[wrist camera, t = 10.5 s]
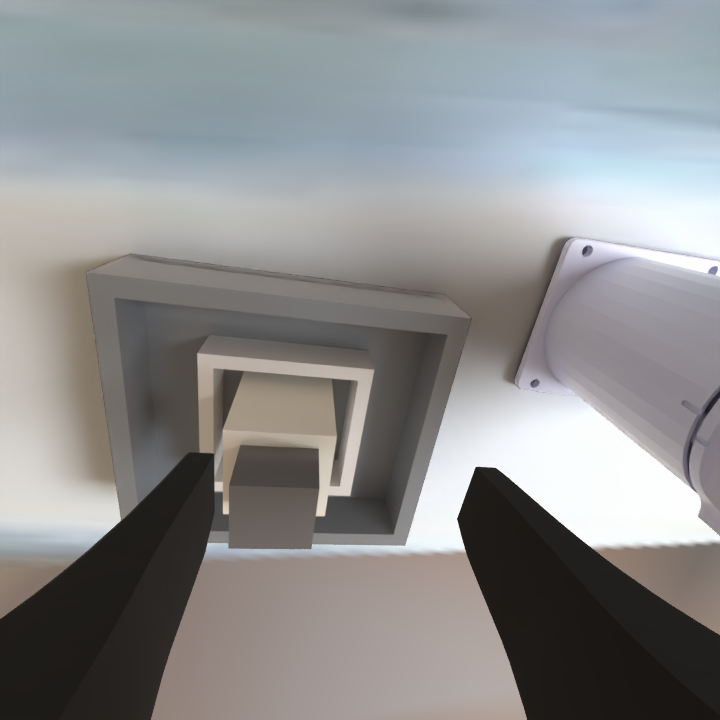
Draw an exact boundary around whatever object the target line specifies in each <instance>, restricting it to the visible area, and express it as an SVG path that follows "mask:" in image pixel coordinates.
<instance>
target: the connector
mask: <svg viewBox="0 0 720 720" xmlns="http://www.w3.org/2000/svg"><path fill="white" fill-rule="evenodd" d="M336 439H337V432H336V421H335V409H334V398H333V387H332V378H321V377H309V376H298V375H286V374H275V373H263V372H252V371H244V373H243V376H242V378H241V381H240V384H239V387H238V389H237V392H236V395H235V398H234V400H233V403H232V406H231V409H230V411H229V414H228V417H227V420H226V422H225V425H224V428H223V514H229V548H242V549H311V547H312V540H313V532H314V525H315V518H316V516H325V512H326V506H327V499H328V492H329V486H330V479H331V472H332V466H333V459H334V452H335V446H336Z"/></svg>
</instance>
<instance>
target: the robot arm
mask: <svg viewBox="0 0 720 720" xmlns="http://www.w3.org/2000/svg"><path fill="white" fill-rule="evenodd" d="M585 246H587V251H586V253H585V254H583V255H582V250H583V248H584V247H585ZM709 269H710V271H709V272H708V270H709ZM534 379H536V381H535V382H534V383H533V384H530V383H531V382H532V381H533V380H534ZM515 385H516V386H517V387H518V388H519V389H520V390H525V391H536V392H547V393H559V394H570V395H578V396H579V397H580V398H582V399H583V400H584V401H585V402H587V403H588V404H589V405H590V406H591V407H593V408H594V409H595V410H596V411H598V412H599V413H600V414H601V415H602V416H604V417H605V418H606V419H607V420H609V421H610V422H611V423H612V424H613V425H615V426H616V427H617V428H618V429H620V430H621V431H622V432H623V433H624V434H626V435H627V436H628V437H629V438H631V439H632V440H633V441H634V442H635V443H637V444H638V445H639V446H640V447H641V448H643V449H644V450H645V451H646V452H648V453H649V454H650V455H651V456H652V457H654V458H655V459H656V460H657V461H659V462H660V463H661V464H662V465H663V466H665V467H666V468H667V469H668V470H670V471H671V472H672V473H673V474H674V475H676V476H677V477H678V478H679V479H681V480H682V481H683V482H684V483H685V484H687V485H688V486H689V487H690V488H692V489H693V490H694V491H695V492H696V493H698V495H699V496H700V498H701V508H700V511H699V514H698V517H699V518H700V519H702V520H703V521H704V522H705V523H706V524H707V525H708V526H709V527H711V528H712V529H713V530H714V531H715V532H716V533H717V534H719V535H720V261H716V260H710V259H704V258H698V257H692V256H686V255H680V254H674V253H668V252H662V251H656V250H650V249H644V248H638V247H632V246H626V245H620V244H614V243H608V242H602V241H596V240H590V239H584V238H578V237H574V238H571V239H569V240H568V241H567V242H566V243H565V245H564V247H563V250H562V252H561V255H560V258H559V261H558V263H557V266H556V269H555V271H554V274H553V277H552V280H551V282H550V285H549V288H548V290H547V293H546V296H545V299H544V301H543V304H542V307H541V309H540V312H539V315H538V318H537V320H536V323H535V326H534V328H533V331H532V334H531V337H530V339H529V342H528V345H527V347H526V350H525V353H524V356H523V358H522V361H521V364H520V366H519V369H518V372H517V375H516V377H515ZM214 513H215V479H214V453H197V452H189V453H188V454H186V455H185V456H184V457H183V458H182V459H181V460H180V461H179V463H178V464H177V465H176V466H175V467H174V468H173V469H172V470H171V471H170V472H169V473H168V474H167V476H166V477H165V478H164V479H163V480H162V481H161V482H160V483H159V484H158V485H157V486H156V487H155V488H154V489H153V490H152V491H151V492H150V493H149V494H148V495H147V496H146V497H145V498H144V499H143V500H142V501H141V502H140V503H139V504H138V505H137V506H136V507H135V508H134V509H133V510H132V511H131V512H130V513H129V514H128V515H127V516H126V517H125V518H124V519H123V520H121V521H120V522H119V523H118V524H117V525H116V526H115V527H114V528H113V529H111V530H110V531H109V532H108V533H107V534H106V535H105V536H104V537H103V538H101V539H100V540H99V541H98V542H97V543H96V544H95V545H94V546H93V547H91V548H90V549H89V550H88V551H87V552H86V553H84V554H83V555H82V556H81V557H80V558H79V559H77V560H76V561H75V562H74V563H73V564H71V565H70V566H69V567H68V568H66V569H65V570H64V571H63V572H62V573H60V574H59V575H58V576H57V577H55V578H54V579H53V580H52V581H50V582H49V583H48V584H47V585H45V586H44V587H43V588H42V589H40V590H39V591H38V592H36V593H35V594H34V595H32V596H31V597H30V598H28V599H27V600H26V601H24V602H23V603H22V604H20V605H19V606H17V607H16V608H15V609H13V610H12V611H11V612H9V613H8V614H7V615H5V616H4V617H3V618H1V619H0V720H151V717H152V713H153V709H154V705H155V701H156V698H157V694H158V690H159V686H160V683H161V679H162V676H163V672H164V669H165V666H166V663H167V659H168V656H169V653H170V650H171V647H172V644H173V641H174V639H175V636H176V633H177V630H178V628H179V624H180V621H181V619H182V616H183V613H184V611H185V607H186V605H187V602H188V599H189V597H190V594H191V591H192V588H193V585H194V583H195V580H196V577H197V574H198V571H199V568H200V565H201V563H202V560H203V557H204V554H205V551H206V547H207V542H208V538H209V534H210V530H211V526H212V521H213V517H214ZM457 520H458V524H459V528H460V532H461V536H462V539H463V543H464V546H465V550H466V553H467V556H468V559H469V561H470V564H471V566H472V569H473V571H474V574H475V576H476V579H477V581H478V584H479V586H480V589H481V591H482V594H483V596H484V599H485V601H486V603H487V606H488V608H489V611H490V613H491V616H492V618H493V620H494V623H495V625H496V628H497V630H498V633H499V635H500V637H501V640H502V642H503V645H504V648H505V651H506V653H507V656H508V659H509V661H510V665H511V668H512V671H513V674H514V678H515V680H516V684H517V687H518V690H519V694H520V697H521V700H522V703H523V706H524V710H525V713H526V717H527V720H720V635H719V634H717V633H715V632H714V631H712V630H710V629H709V628H707V627H705V626H704V625H702V624H701V623H699V622H697V621H695V620H694V619H693V618H691V617H689V616H688V615H686V614H685V613H683V612H681V611H680V610H678V609H676V608H675V607H673V606H672V605H670V604H669V603H667V602H666V601H664V600H663V599H661V598H660V597H658V596H657V595H655V594H654V593H652V592H651V591H649V590H648V589H647V588H645V587H644V586H642V585H641V584H639V583H638V582H637V581H635V580H634V579H632V578H631V577H629V576H628V575H627V574H625V573H624V572H622V571H621V570H619V569H618V568H617V567H616V566H614V565H613V564H611V563H610V562H609V561H607V560H606V559H605V558H603V557H602V556H601V555H600V554H598V553H597V552H596V551H595V550H593V549H592V548H591V547H590V546H588V545H587V544H586V543H584V542H583V541H582V540H581V539H579V538H578V537H577V536H576V535H574V534H573V533H572V532H571V531H570V530H568V529H567V528H566V527H565V526H564V525H562V524H561V523H560V522H559V521H558V520H556V519H555V518H554V517H553V516H552V515H551V514H549V513H548V512H547V511H546V510H545V509H544V508H542V507H541V506H540V505H539V504H538V503H537V502H536V501H534V500H533V499H532V498H531V497H530V496H529V495H527V494H526V493H525V492H524V491H523V490H522V489H521V488H519V487H518V486H517V485H516V484H515V483H514V482H512V481H511V480H510V479H509V478H508V477H506V476H505V475H504V474H503V473H501V472H500V471H499V470H498V469H496V468H488V467H476V468H475V471H474V474H473V476H472V479H471V482H470V485H469V488H468V490H467V493H466V496H465V499H464V501H463V504H462V507H461V510H460V513H459V515H458V518H457Z"/></svg>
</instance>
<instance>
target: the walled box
mask: <svg viewBox="0 0 720 720" xmlns="http://www.w3.org/2000/svg"><path fill="white" fill-rule="evenodd" d="M86 278H87V285H88V292H89V299H90V306H91V313H92V320H93V327H94V334H95V341H96V348H97V355H98V362H99V369H100V376H101V383H102V390H103V397H104V404H105V411H106V417H107V424H108V431H109V438H110V445H111V452H112V459H113V466H114V473H115V480H116V487H117V494H118V501H119V508H120V515H121V520H123V519H124V518H125V517H126V516H127V515H128V514H129V513H130V512H131V511H132V510H133V509H134V508H135V507H136V506H137V505H138V504H139V503H140V502H141V501H142V500H143V499H144V498H145V497H146V496H147V495H148V494H149V493H150V492H151V491H152V490H153V489H154V488H155V487H156V486H157V485H158V484H159V483H160V482H161V481H162V480H163V479H164V478H165V477H166V476H167V474H168V473H169V472H170V471H171V470H172V469H173V468H174V467H175V466H176V465H177V464H178V463H179V461H180V460H181V459H182V458H183V457H184V456H185V455H186V454H188V453H189V452H197V453H214V479H215V513H214V517H213V521H212V526H211V530H210V534H209V538H208V542H207V543H229V514H223V428H224V425H225V422H226V420H227V417H228V414H229V411H230V409H231V406H232V403H233V400H234V398H235V395H236V392H237V389H238V387H239V384H240V381H241V378H242V376H243V373H244V371H252V372H263V373H275V374H286V375H298V376H309V377H321V378H332V387H333V398H334V409H335V421H336V432H337V439H336V446H335V452H334V459H333V466H332V472H331V479H330V486H329V492H328V499H327V506H326V512H325V516H316V518H315V525H314V532H313V540H312V544H335V545H405V544H406V541H407V537H408V534H409V531H410V527H411V524H412V520H413V517H414V514H415V510H416V507H417V503H418V500H419V496H420V493H421V490H422V486H423V483H424V479H425V476H426V473H427V469H428V466H429V462H430V459H431V456H432V452H433V449H434V445H435V442H436V438H437V435H438V432H439V428H440V425H441V421H442V418H443V415H444V411H445V408H446V404H447V401H448V398H449V394H450V391H451V387H452V384H453V380H454V377H455V374H456V370H457V367H458V363H459V360H460V357H461V353H462V350H463V346H464V343H465V339H466V336H467V333H468V329H469V326H470V322H471V319H472V318H470V317H469V316H468V315H467V314H466V313H465V312H464V311H463V310H461V309H460V308H459V307H458V306H457V305H456V304H455V303H453V302H452V301H451V300H450V299H449V298H448V297H447V296H446V295H444V294H436V293H428V292H421V291H413V290H405V289H398V288H390V287H382V286H375V285H367V284H359V283H352V282H344V281H336V280H329V279H321V278H313V277H305V276H298V275H290V274H282V273H275V272H267V271H259V270H252V269H244V268H236V267H229V266H221V265H213V264H206V263H198V262H190V261H183V260H175V259H167V258H159V257H152V256H144V255H136V254H129V255H126V256H124V257H121V258H119V259H116V260H114V261H112V262H109V263H107V264H104V265H102V266H99V267H97V268H94V269H92V270H89V271H87V272H86Z"/></svg>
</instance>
